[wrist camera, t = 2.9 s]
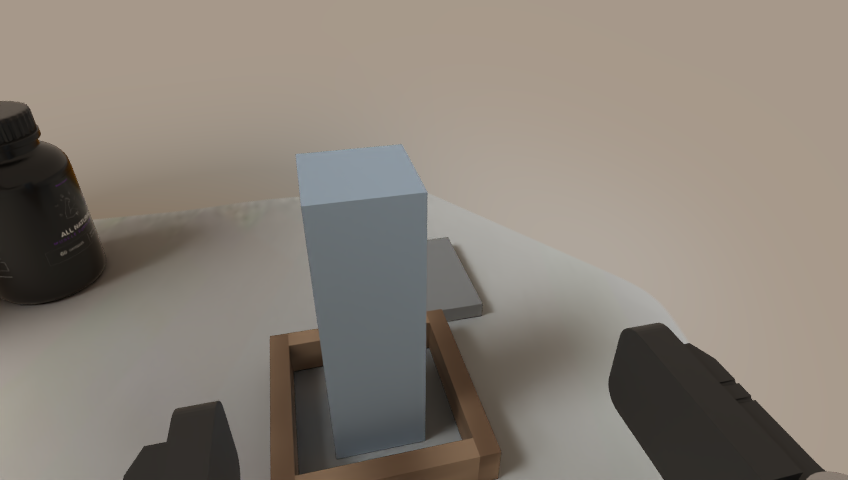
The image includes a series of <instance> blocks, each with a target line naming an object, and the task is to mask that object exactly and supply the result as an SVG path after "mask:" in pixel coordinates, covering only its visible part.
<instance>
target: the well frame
mask: <svg viewBox="0 0 848 480" xmlns="http://www.w3.org/2000/svg"><path fill="white" fill-rule="evenodd" d="M426 348H430V351H431V354H432V356H433V359H434V362H435V365H436V368H437V370H438V373H439V376H440V379H441V382H442V385H443V387H444V390H445V393H446V396H447V399H448V402H449V404H450V407H451V410H452V413H453V416H454V418H455V421H456V424H457V427H458V430H459V433H460V435H461V438H462V440H461V441H456V442H451V443H446V444H442V445H437V446H432V447H428V448H423V449H418V450H414V451H409V452H404V453H400V454H395V455H390V456H385V457H381V458H376V459H371V460H367V461H362V462H357V463H353V464H348V465H343V466H338V467H334V468H329V469H324V470H320V471H315V472H310V473H306V474H301V475H299V465H298V447H297V428H296V409H295V391H294V372H293V371H297V370H303V369H309V368H315V367H320V366H323V359H322V351H321V344H320V337H319V330H318V329H313V330H306V331H300V332H294V333H287V334H281V335H275V336H270V454H271V480H493V479H498V474H499V466H500V459H501V450H500V447H499V445H498V443H497V440H496V438H495V435H494V433H493V431H492V428H491V426H490V423H489V421H488V419H487V416H486V414H485V411H484V409H483V407H482V404H481V402H480V399H479V397H478V395H477V392H476V390H475V387H474V385H473V383H472V380H471V378H470V375H469V373H468V371H467V368H466V366H465V363H464V361H463V359H462V356H461V354H460V351H459V349H458V347H457V344H456V342H455V339H454V337H453V335H452V332H451V330H450V327H449V325H448V323H447V320H446V318H445V315H444V313H443V311H442V309H438V310H432V311H426Z"/></svg>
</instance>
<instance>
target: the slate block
mask: <svg viewBox="0 0 848 480" xmlns="http://www.w3.org/2000/svg"><path fill="white" fill-rule="evenodd" d="M296 163H297V172H298V182H299V191H300V201H301V209H302V216H303V224H304V231H305V238H306V245H307V252H308V259H309V266H310V273H311V280H312V288H313V295H314V302H315V309H316V316H317V323H318V330H319V337H320V344H321V351H322V359H323V366H324V373H325V380H326V387H327V394H328V401H329V408H330V415H331V423H332V430H333V437H334V444H335V451H336V458H337V459H340V458H345V457H350V456H354V455H359V454H364V453H369V452H373V451H378V450H383V449H388V448H392V447H397V446H402V445H407V444H411V443H416V442H421V441H425V404H426V292H427V191H426V189H425V187H424V185H423V183H422V181H421V179H420V177H419V176H418V174H417V172H416V170H415V168H414V166H413V164H412V162H411V160H410V159H409V157H408V155H407V153H406V151H405V149H404V148H403V146H402V144H400V145H389V146H380V147H379V146H378V147H367V148H357V149H347V150H336V151H325V152H314V153H303V154H296Z"/></svg>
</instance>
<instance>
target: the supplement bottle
mask: <svg viewBox="0 0 848 480" xmlns="http://www.w3.org/2000/svg"><path fill="white" fill-rule="evenodd" d="M40 135H41V132H40V130H39V127H38V126H37V125H36V123H35V121H34V118H33V116H32V113H31V111H30V108H29V107H28V106H27V104H24V103H20V102H14V101H0V297H1V298H2V299H4V300H6V301H8V302H12V303H16V304H40V303H46V302H50V301H54V300H58V299H61V298H64V297H67V296H69V295H72V294H74V293H76V292H78V291H80V290H82V289H84V288H85V287H87V286H88V285H90V284H91V283H92V282H94V281H95V280H96V279H97V278H98V277H99V276H100V274H101V273H102V271H103V270H104V267H105V264H106V256H105V253H104V250H103V247H102V244H101V241H100V239H99V236H98V234H97V231H96V228H95V226H94V223H93V220H92V218H91V215H90V212H89V210H88V207H87V205H86V202H85V199H84V197H83V194H82V191H81V189H80V186H79V184H78V181H77V178H76V176H75V173H74V171H73V168H72V165H71V163H70V161H69V159H68V157H67V155H66V154H65V153H64V152H63V151H62V150H61V149H59V148H58V147H56V146H54V145H52V144H50V143H47V142H43V141H39V140H38V138H39V137H40Z"/></svg>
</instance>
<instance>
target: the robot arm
mask: <svg viewBox="0 0 848 480" xmlns="http://www.w3.org/2000/svg"><path fill="white" fill-rule="evenodd" d="M609 392H610V396H611V400H612V402H613V404H614V406H615V408H616V410H617V411H618V413H619V414H620V416H621V417H622V419H623V420H624V422H625V423H626V425H627V426H628V428H629V429H630V430H631V432H632V433H633V435H634V436H635V438H636V439H637V441H638V442H639V444H640V445H641V447H642V448H643V450H644V451H645V453H646V454H647V455H648V457H649V458H650V460H651V461H652V463H653V464H654V466H655V467H656V469H657V470H658V472H659V473H660V475H661V476H662V478H663V479H664V480H848V476H847V475H845V474H841V473H837V472H826V471H825V470H824V469H822V468H821V467H820V466H819V465H818V464H817V463H816V462H815V461H814V460H813V459H812V458H811V457H810V456H809V455H808V454H807V453H806V452H805V451H804V450H803V449H802V448H801V447H800V446H799V445H798V444H797V443H796V442H795V441H794V439H793V438H792V437H791V436H789V434H788V433H787V432H786V431H785V430H784V429H783V428H782V427H781V426H780V425H779V424H778V423H777V422H776V421H775V420H774V419H773V418H772V417H771V416H770V415H769V414H768V413H767V412H766V411H765V410H764V409H763V408H762V407H761V406H760V405H759V404H758V402H757V401H756V400H754V401H753V400H752V399H751V395H750V394H749V393H748V392H747V391H746V390H745V389H744V388H743V387H742V386H741V385H740V384H739V383H738V384H736V383H735V379H734V378H733V377H732V376H731V375H730V374H729V373H728V372H727V371H726V370H725V369H724V367H723V366H722V365H721V364H719V362H718V361H717V360H716V359H714V358H713V357H711V356H710V355H708V354H706V353H705V352H703V351H701V350H700V349H698V348H697V347H695V346H693V345H692V344H690V343H688V344H683V343H682V342H681V341H680V340H679V339H678V338H677V336H676V335H675V334H674V333H673V332H672V331H671V330H670V329H669V328H668V327H667V326H665V325H664V324H661V323H655V324H649V325H643V326H638V327H632V328H627V329H624V330H623V331H622V333H621V335H620V338H619V342H618V346H617V349H616V353H615V357H614V361H613V365H612V369H611V372H610V376H609ZM123 480H240V467H239V460H238V454H237V451H236V447H235V444H234V441H233V438H232V434H231V431H230V428H229V425H228V421H227V418H226V415H225V412H224V408H223V405H222V403H221V402H220V401H216V402H210V403H205V404H199V405H193V406H188V407H182V408H177V409H175V410H174V412H173V415H172V418H171V423H170V428H169V433H168V438H167V442H164V443H159V444H154V445H149V446H144V447H143V449H142V450H141V452H140V453H139V455H138V456H137V458H136V459H135V460H134V462H133V463H132V465H131V466H130V468H129V469H128V471H127V472H126V474H125V475H124V478H123Z"/></svg>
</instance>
